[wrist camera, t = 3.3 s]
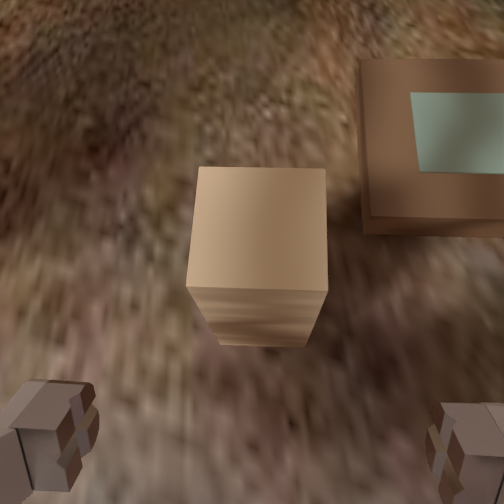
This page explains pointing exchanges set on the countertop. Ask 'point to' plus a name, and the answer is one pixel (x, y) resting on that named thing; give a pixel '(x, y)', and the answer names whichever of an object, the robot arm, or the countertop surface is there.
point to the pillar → (259, 253)
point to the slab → (431, 147)
